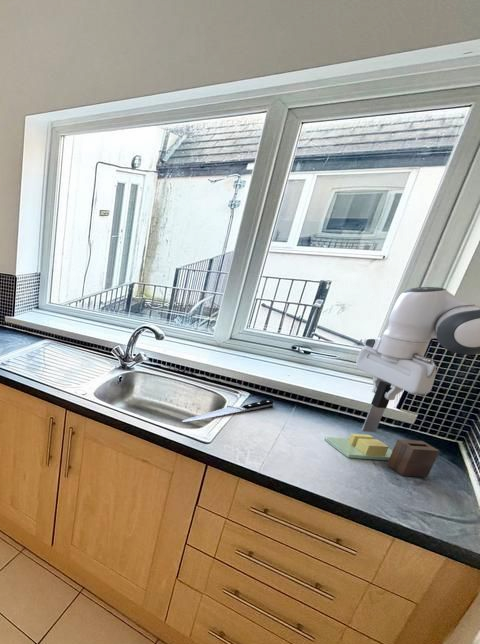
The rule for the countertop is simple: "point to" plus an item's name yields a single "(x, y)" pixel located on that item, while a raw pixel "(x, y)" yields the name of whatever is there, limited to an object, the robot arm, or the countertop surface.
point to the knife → (377, 407)
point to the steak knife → (233, 410)
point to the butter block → (371, 447)
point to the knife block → (412, 458)
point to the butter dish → (353, 449)
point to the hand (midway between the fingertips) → (382, 396)
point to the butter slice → (355, 438)
